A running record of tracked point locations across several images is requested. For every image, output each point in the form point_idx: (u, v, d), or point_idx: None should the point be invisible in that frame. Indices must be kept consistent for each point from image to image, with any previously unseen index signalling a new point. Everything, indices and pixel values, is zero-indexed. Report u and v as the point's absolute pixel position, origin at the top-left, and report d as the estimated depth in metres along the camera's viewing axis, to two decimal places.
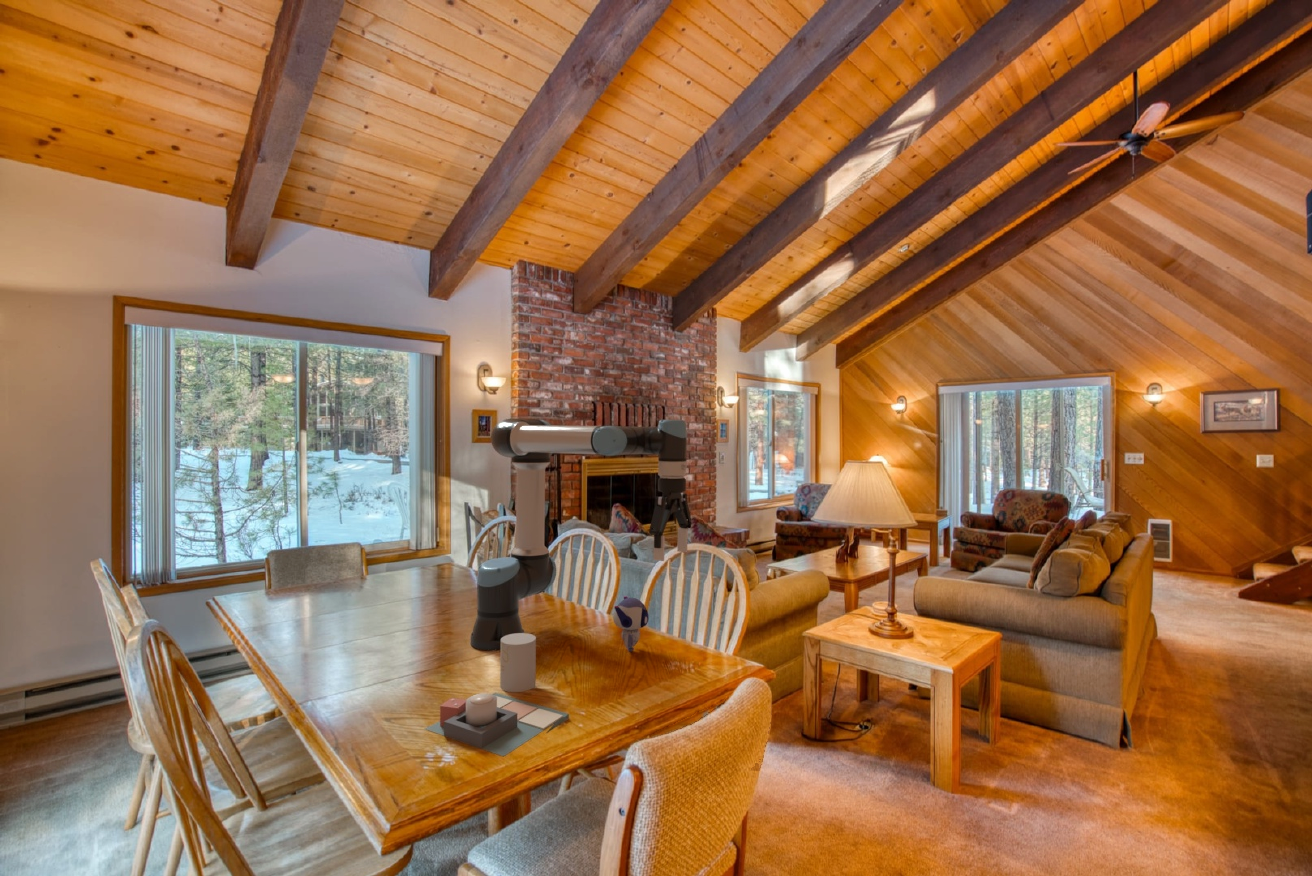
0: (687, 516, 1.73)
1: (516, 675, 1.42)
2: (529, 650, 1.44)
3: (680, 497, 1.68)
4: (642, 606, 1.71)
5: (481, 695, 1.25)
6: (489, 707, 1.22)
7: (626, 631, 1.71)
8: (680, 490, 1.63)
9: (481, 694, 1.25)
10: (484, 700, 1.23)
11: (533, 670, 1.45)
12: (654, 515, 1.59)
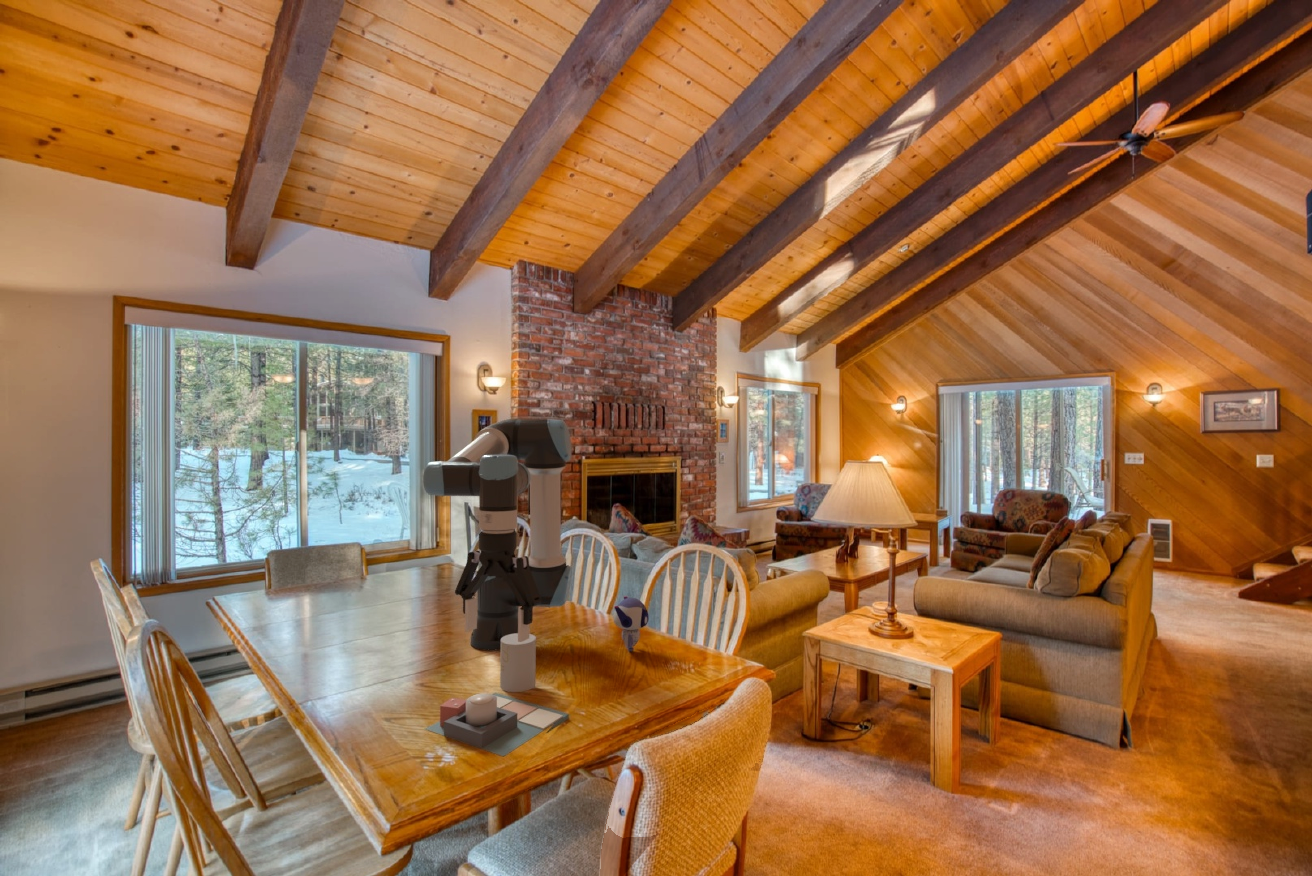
0: None
1: (516, 675, 1.42)
2: (529, 650, 1.44)
3: (505, 561, 1.24)
4: (642, 606, 1.71)
5: (481, 695, 1.25)
6: (489, 707, 1.22)
7: (626, 631, 1.71)
8: (480, 548, 1.23)
9: (481, 694, 1.25)
10: (484, 700, 1.23)
11: (533, 670, 1.45)
12: None
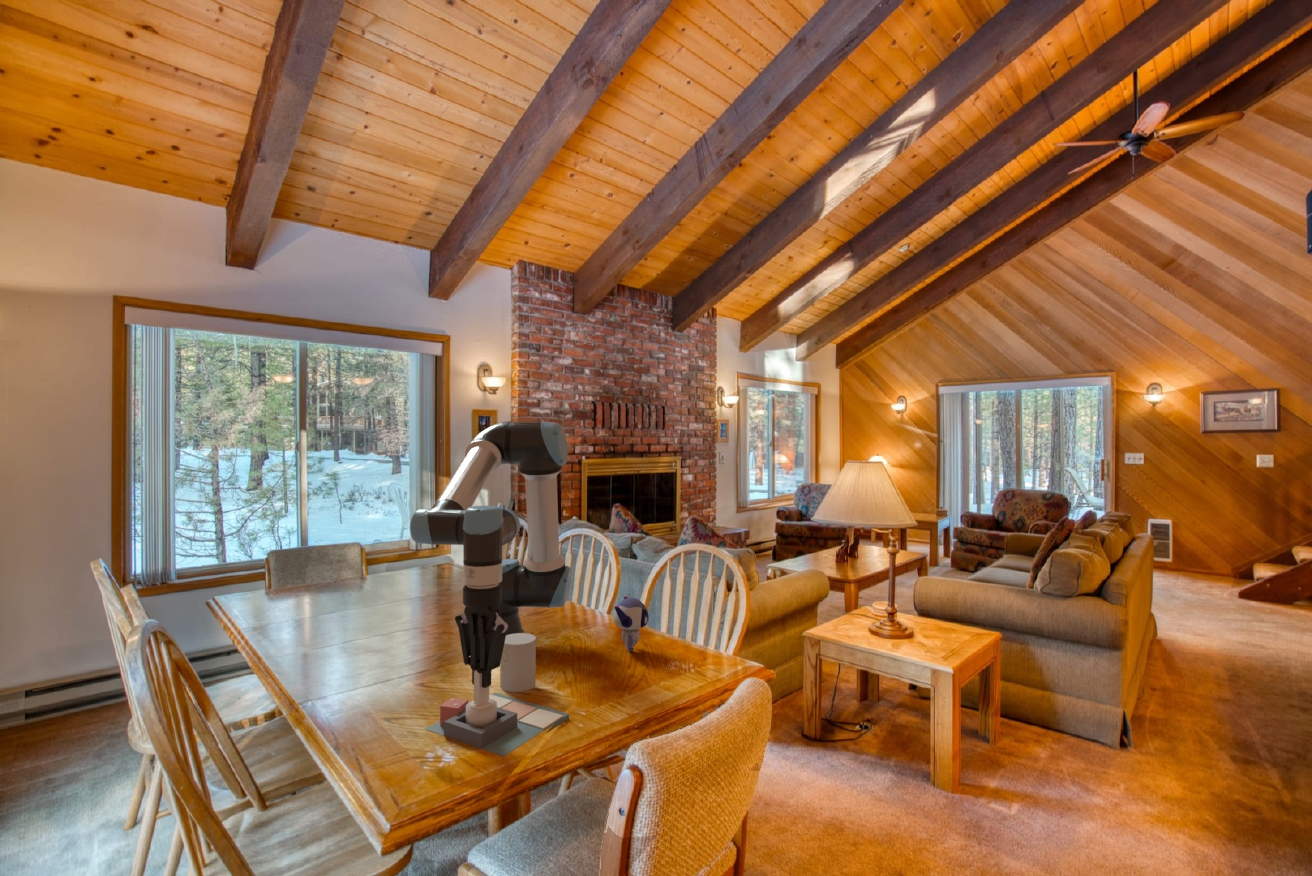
0: None
1: (516, 675, 1.42)
2: (529, 650, 1.44)
3: (489, 616, 1.21)
4: (642, 606, 1.71)
5: None
6: (489, 712, 1.22)
7: (626, 631, 1.71)
8: (464, 603, 1.21)
9: None
10: (484, 705, 1.23)
11: (533, 670, 1.45)
12: None
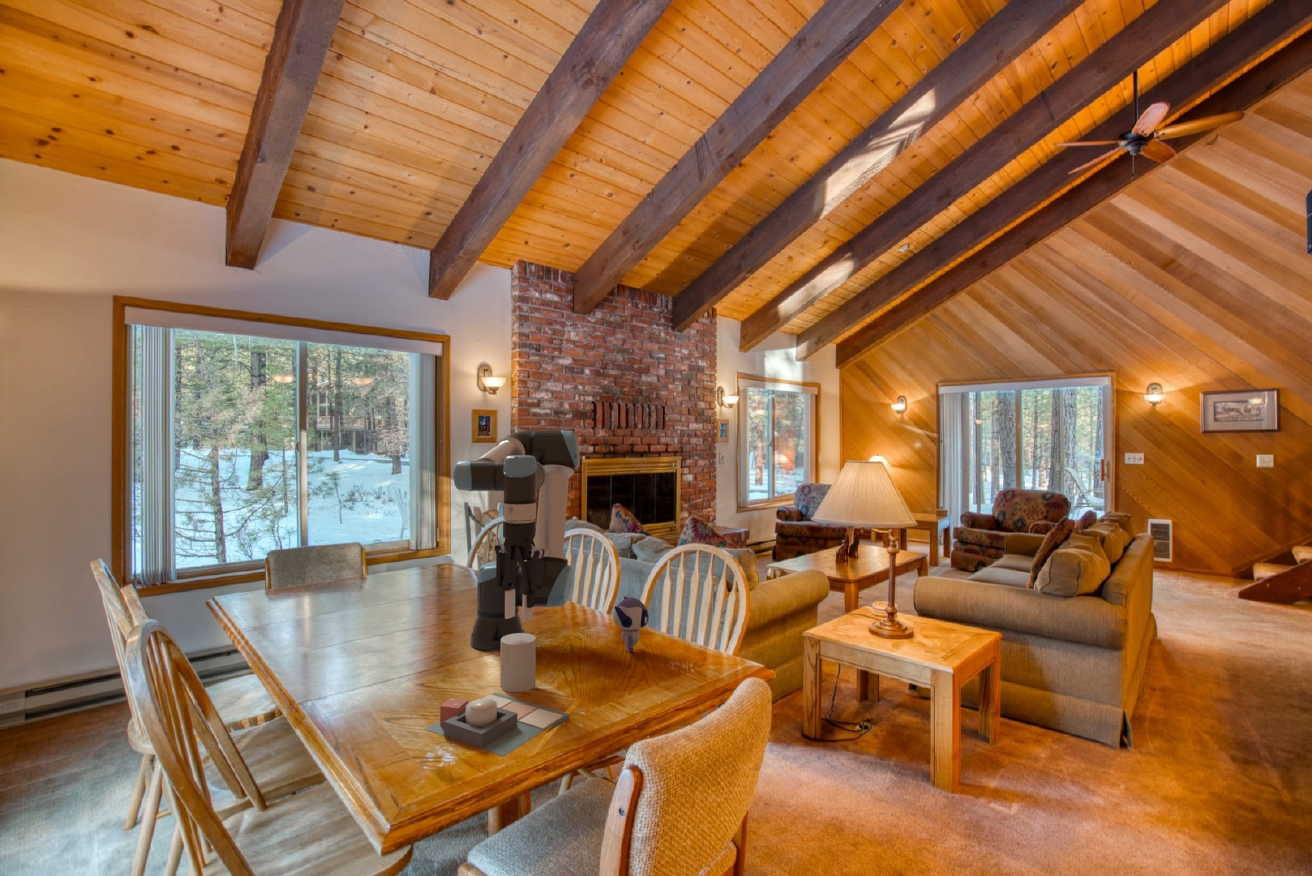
0: None
1: (516, 675, 1.42)
2: (529, 650, 1.44)
3: (525, 547, 1.44)
4: (642, 606, 1.71)
5: (481, 701, 1.25)
6: (489, 712, 1.22)
7: (626, 631, 1.71)
8: (504, 536, 1.44)
9: (481, 699, 1.25)
10: (484, 706, 1.23)
11: (533, 670, 1.45)
12: None
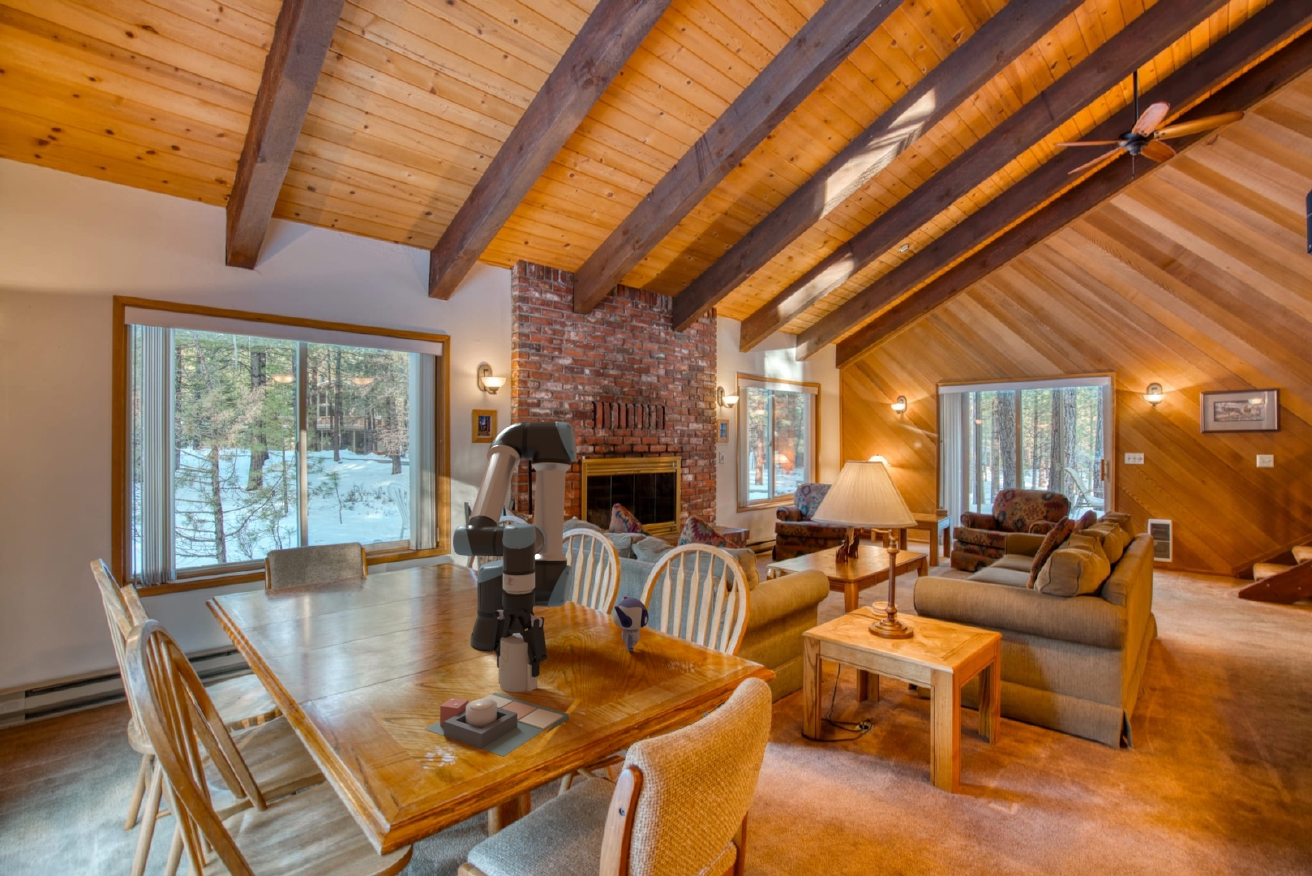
0: None
1: (516, 675, 1.42)
2: None
3: (524, 617, 1.44)
4: (642, 606, 1.71)
5: (481, 701, 1.25)
6: (489, 712, 1.22)
7: (626, 631, 1.71)
8: (503, 606, 1.44)
9: (481, 699, 1.25)
10: (484, 706, 1.23)
11: None
12: None
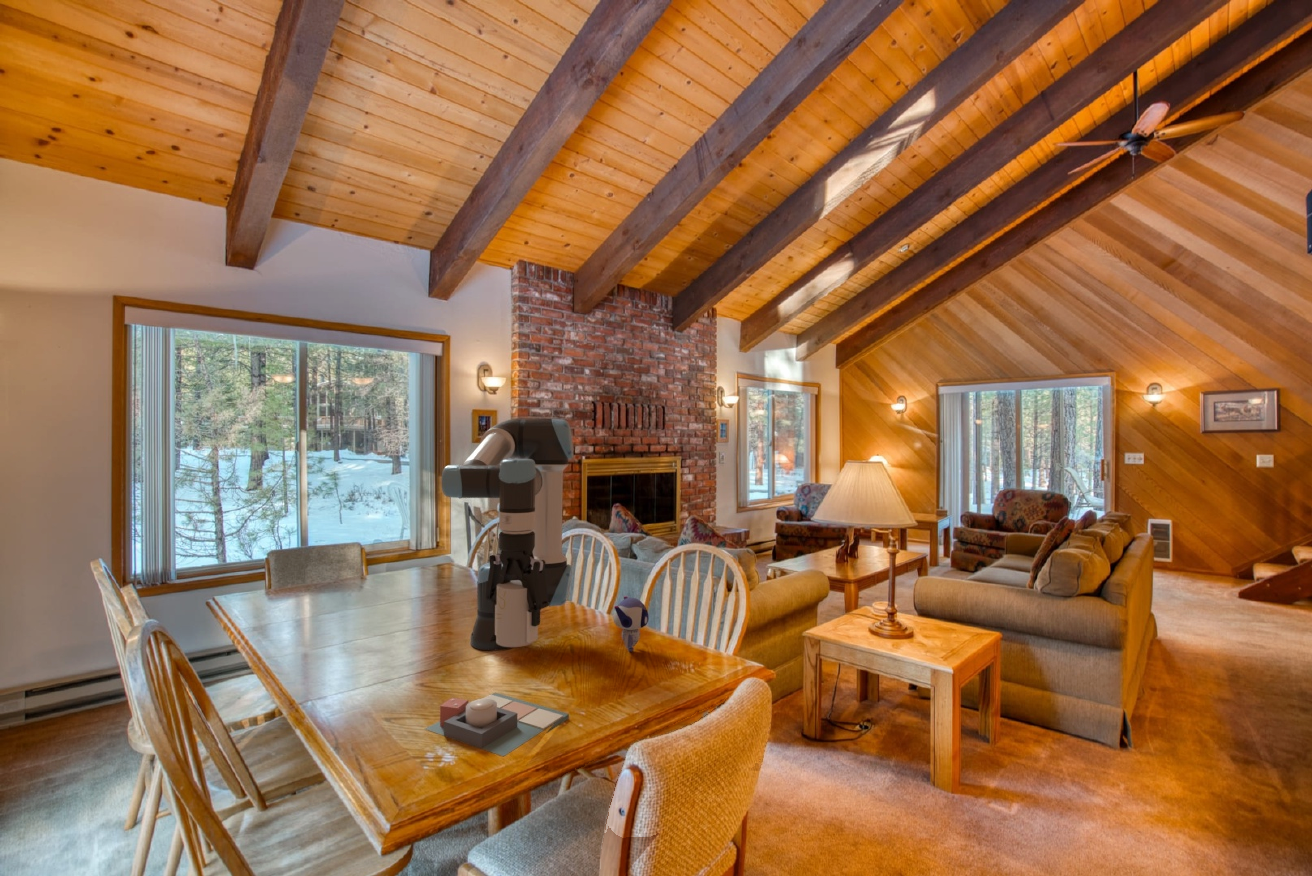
0: None
1: (514, 623, 1.28)
2: None
3: (523, 560, 1.30)
4: (642, 606, 1.71)
5: (481, 701, 1.25)
6: (489, 712, 1.22)
7: (626, 631, 1.71)
8: (500, 548, 1.30)
9: (481, 699, 1.25)
10: (484, 706, 1.23)
11: None
12: None
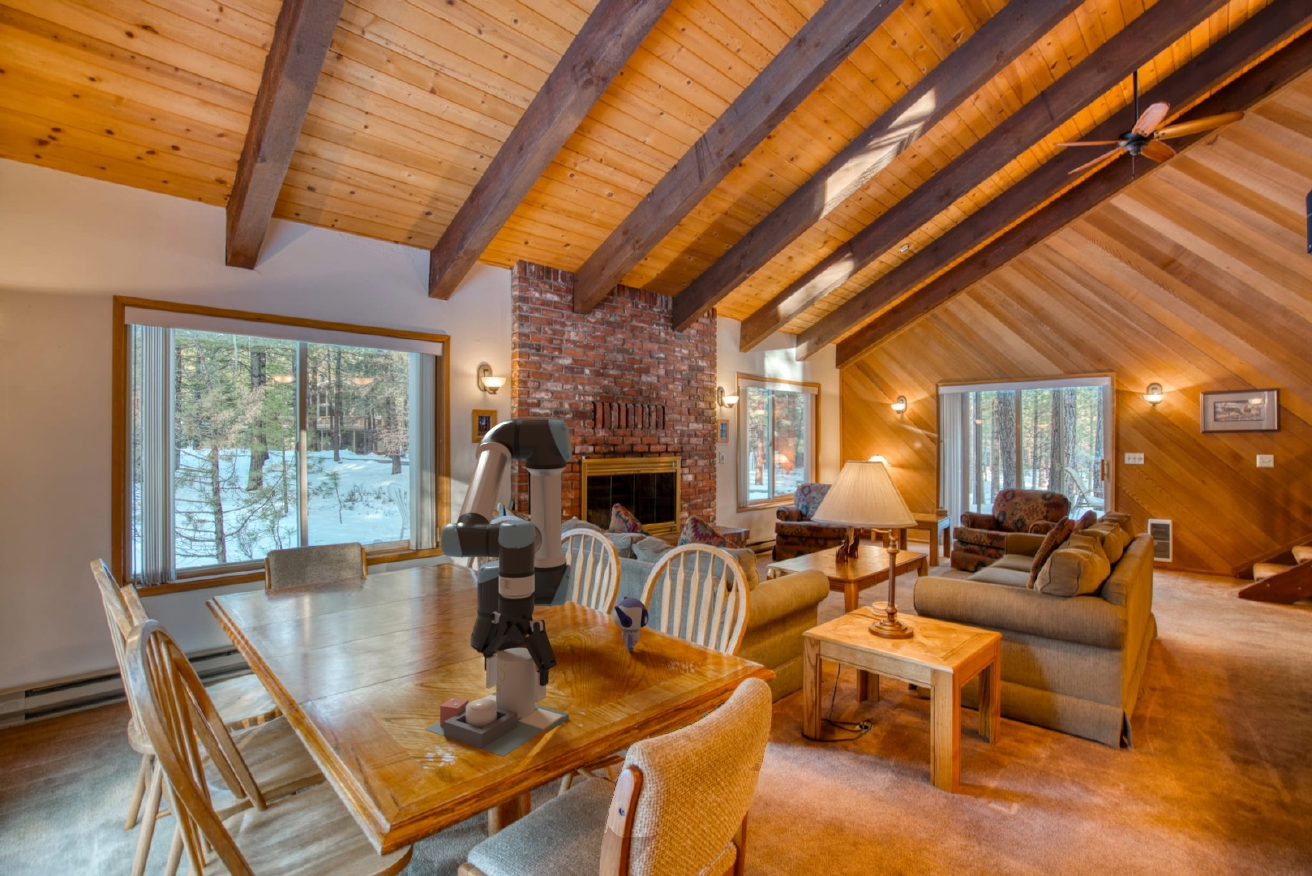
0: None
1: (514, 695, 1.28)
2: (528, 668, 1.30)
3: (523, 624, 1.30)
4: (642, 606, 1.71)
5: (481, 701, 1.25)
6: (489, 712, 1.22)
7: (626, 631, 1.71)
8: (499, 612, 1.30)
9: (481, 699, 1.25)
10: (484, 706, 1.23)
11: (532, 689, 1.31)
12: None
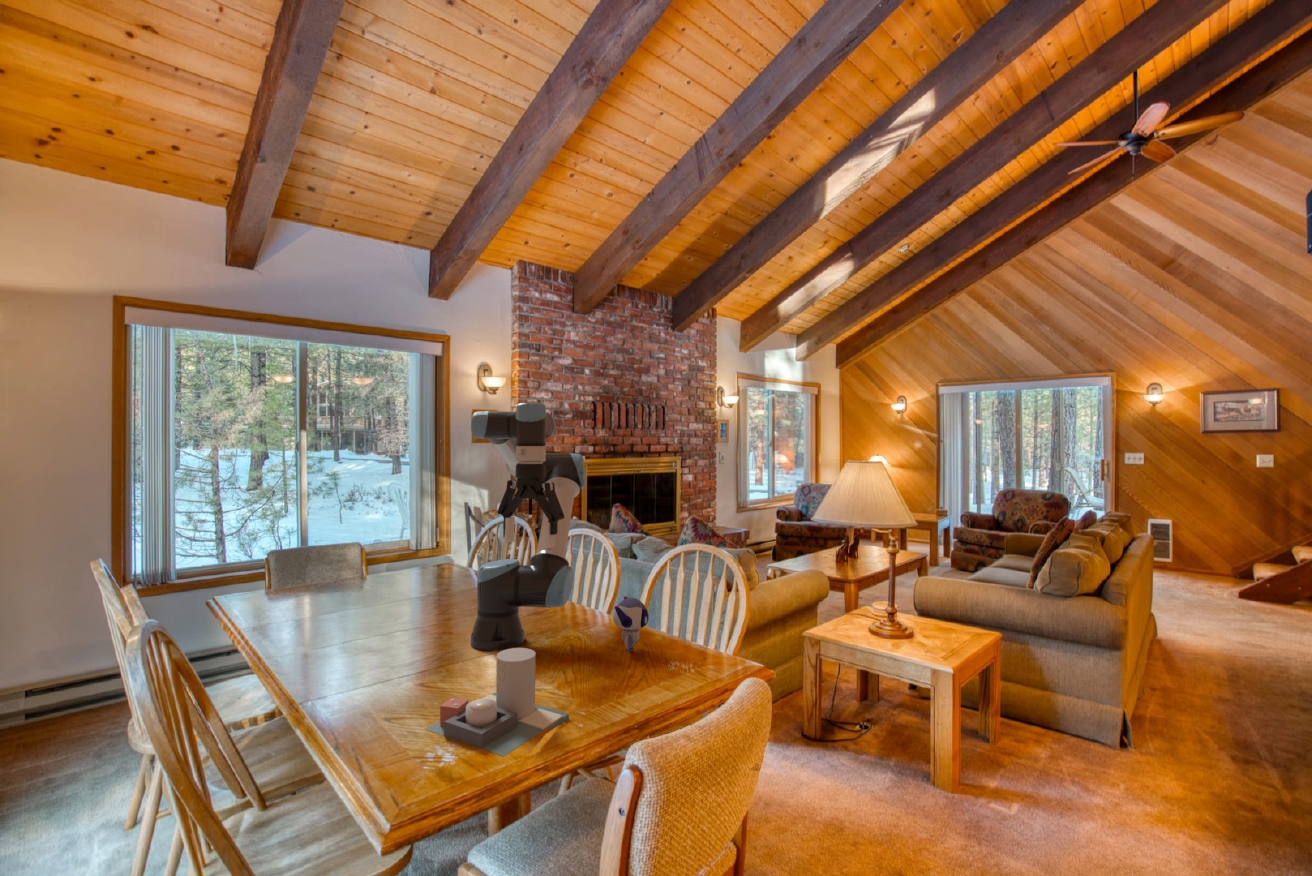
0: None
1: (514, 695, 1.28)
2: (528, 668, 1.30)
3: (536, 485, 1.58)
4: (642, 606, 1.71)
5: (481, 701, 1.25)
6: (489, 712, 1.22)
7: (626, 631, 1.71)
8: (517, 475, 1.58)
9: (481, 699, 1.25)
10: (484, 706, 1.23)
11: (532, 689, 1.31)
12: None
